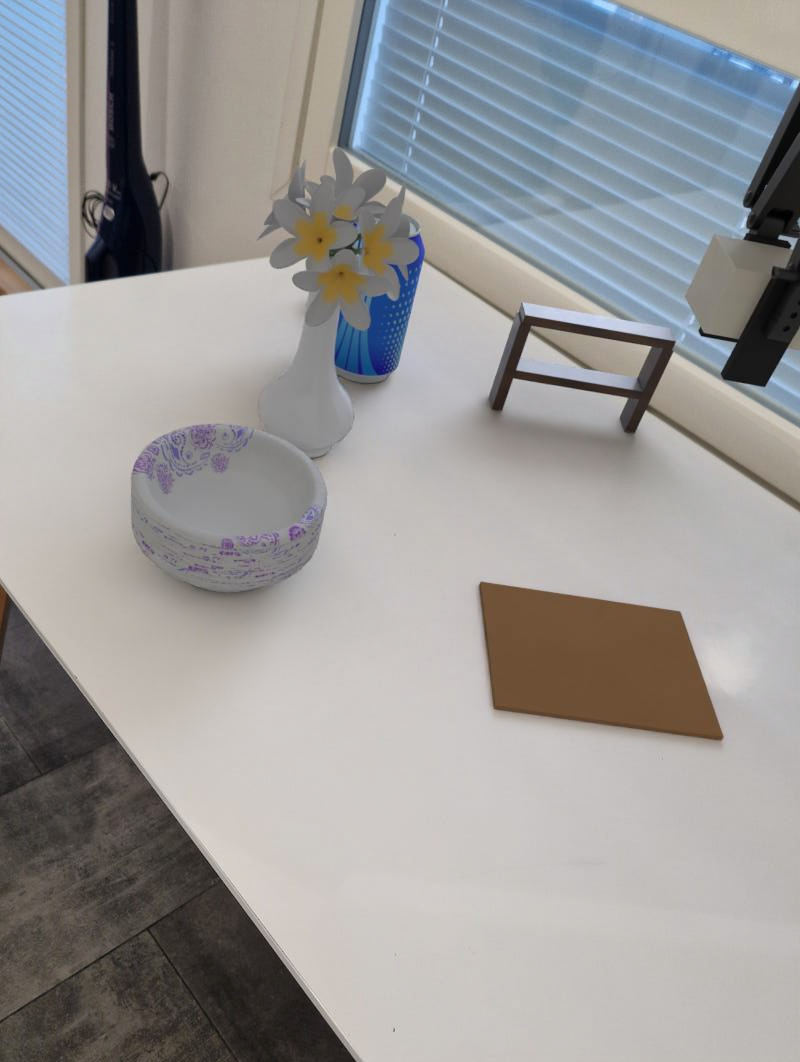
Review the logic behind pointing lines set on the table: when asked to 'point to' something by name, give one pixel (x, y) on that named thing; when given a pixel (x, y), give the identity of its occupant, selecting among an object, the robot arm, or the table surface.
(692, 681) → the mat
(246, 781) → the table surface
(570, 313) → the rack
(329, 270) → the flower vase
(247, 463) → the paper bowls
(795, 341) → the white cardboard box
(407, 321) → the beer can
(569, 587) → the table surface
